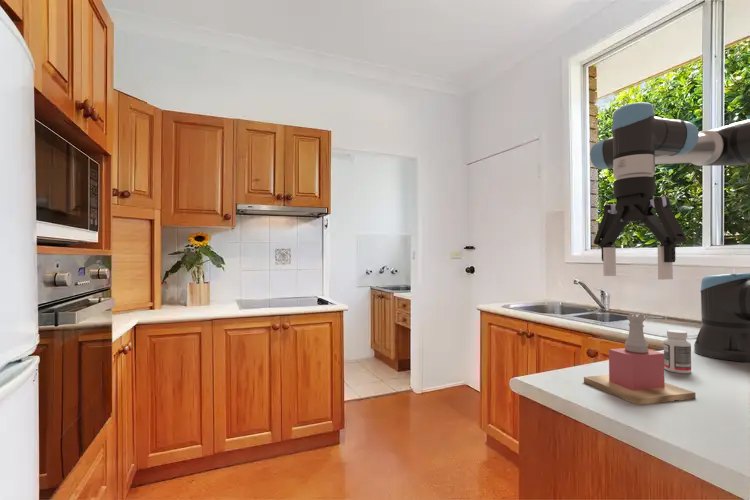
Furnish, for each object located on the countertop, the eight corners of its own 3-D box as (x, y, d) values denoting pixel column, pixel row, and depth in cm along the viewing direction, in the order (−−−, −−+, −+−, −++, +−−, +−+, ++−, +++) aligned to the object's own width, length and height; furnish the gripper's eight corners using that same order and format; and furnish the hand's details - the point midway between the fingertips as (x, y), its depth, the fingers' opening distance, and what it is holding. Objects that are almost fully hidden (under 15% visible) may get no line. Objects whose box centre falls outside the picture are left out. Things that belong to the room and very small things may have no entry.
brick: (639, 378, 88) (638, 347, 88) (664, 387, 83) (664, 353, 83) (609, 381, 87) (608, 349, 87) (633, 390, 81) (632, 356, 81)
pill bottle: (694, 371, 98) (694, 331, 98) (687, 375, 95) (686, 334, 95) (668, 366, 102) (668, 328, 102) (660, 370, 99) (659, 330, 99)
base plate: (634, 377, 93) (634, 372, 93) (695, 398, 79) (695, 392, 79) (583, 382, 90) (583, 376, 90) (638, 405, 76) (638, 398, 76)
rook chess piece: (653, 354, 82) (652, 315, 82) (629, 353, 83) (628, 315, 83) (643, 349, 86) (642, 312, 86) (620, 348, 87) (620, 312, 87)
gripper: (576, 187, 96) (577, 274, 96) (676, 164, 72) (678, 281, 72) (602, 188, 98) (603, 274, 98) (708, 166, 74) (710, 280, 74)
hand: (635, 277), depth 85 cm, fingers open, 13 cm apart
